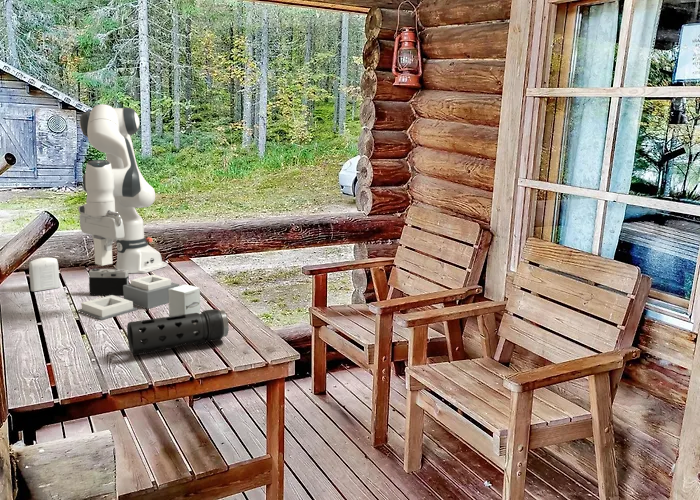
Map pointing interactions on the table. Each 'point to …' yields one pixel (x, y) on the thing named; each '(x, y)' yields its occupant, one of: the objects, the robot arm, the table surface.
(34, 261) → the photo printer
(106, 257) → the plug
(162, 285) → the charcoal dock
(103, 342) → the table surface
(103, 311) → the frame
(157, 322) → the muzzle brake
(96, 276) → the camera
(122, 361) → the table surface
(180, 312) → the supplement box
